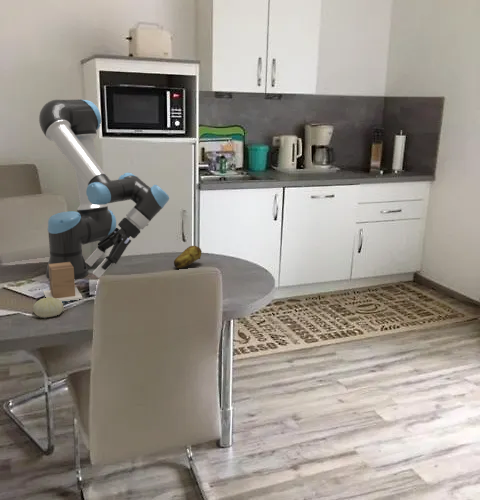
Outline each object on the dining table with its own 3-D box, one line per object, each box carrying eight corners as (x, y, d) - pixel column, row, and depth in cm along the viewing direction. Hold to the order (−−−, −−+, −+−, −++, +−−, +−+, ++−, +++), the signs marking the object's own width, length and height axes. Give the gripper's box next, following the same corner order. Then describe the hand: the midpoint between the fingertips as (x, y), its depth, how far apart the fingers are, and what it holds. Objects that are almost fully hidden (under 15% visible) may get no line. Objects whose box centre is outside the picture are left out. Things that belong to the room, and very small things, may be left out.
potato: (168, 265, 229) (168, 246, 227) (197, 261, 235) (197, 243, 233) (176, 271, 222) (176, 251, 220) (206, 267, 228) (206, 248, 226)
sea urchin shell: (34, 316, 171) (31, 292, 174) (34, 326, 177) (31, 303, 180) (65, 312, 174) (62, 289, 178) (64, 322, 181) (61, 299, 184)
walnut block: (50, 291, 193) (48, 264, 190) (71, 289, 196) (69, 261, 193) (53, 298, 187) (51, 270, 184) (75, 295, 190) (73, 267, 187)
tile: (43, 294, 194) (43, 290, 193) (76, 290, 198) (76, 286, 198) (48, 305, 184) (48, 301, 184) (82, 300, 189) (82, 297, 189)
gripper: (151, 238, 186) (107, 287, 184) (131, 222, 208) (92, 265, 206) (135, 224, 183) (90, 273, 181) (117, 209, 204) (76, 253, 202)
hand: (91, 269), depth 193 cm, fingers open, 13 cm apart
